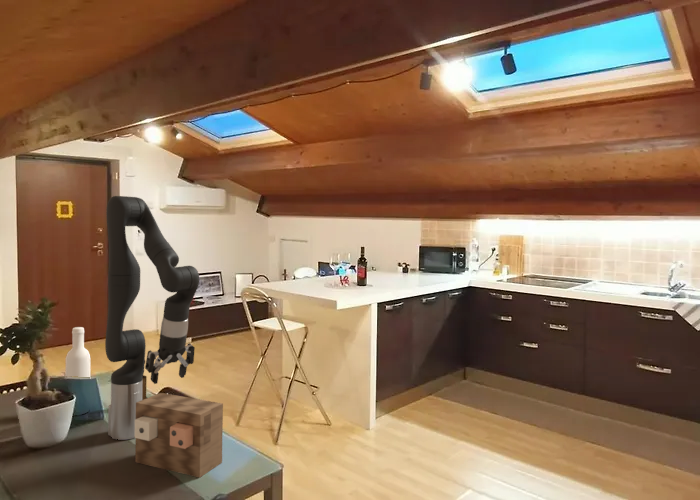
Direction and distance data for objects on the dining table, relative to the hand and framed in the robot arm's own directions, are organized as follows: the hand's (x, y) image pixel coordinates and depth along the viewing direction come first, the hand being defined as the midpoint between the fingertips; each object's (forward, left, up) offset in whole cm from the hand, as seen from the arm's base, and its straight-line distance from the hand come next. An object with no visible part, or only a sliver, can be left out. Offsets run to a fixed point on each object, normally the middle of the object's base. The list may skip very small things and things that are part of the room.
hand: (168, 379), depth 162 cm
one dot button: (+5, -14, -12) cm, 19 cm away
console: (+11, -8, -20) cm, 24 cm away
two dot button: (+17, -14, -12) cm, 25 cm away
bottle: (-47, +9, -20) cm, 52 cm away
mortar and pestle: (-32, +23, -20) cm, 44 cm away
